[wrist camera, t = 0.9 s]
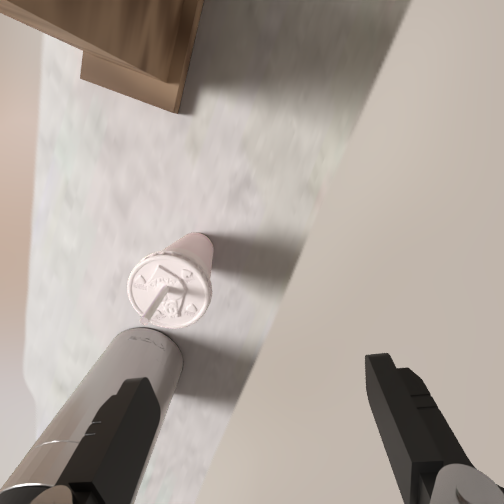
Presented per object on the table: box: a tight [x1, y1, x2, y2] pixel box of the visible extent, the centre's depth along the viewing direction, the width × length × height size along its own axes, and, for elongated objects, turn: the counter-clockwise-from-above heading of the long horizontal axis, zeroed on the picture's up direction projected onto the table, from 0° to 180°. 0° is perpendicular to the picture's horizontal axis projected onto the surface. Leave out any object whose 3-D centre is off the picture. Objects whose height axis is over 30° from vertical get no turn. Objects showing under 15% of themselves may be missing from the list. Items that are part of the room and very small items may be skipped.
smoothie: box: [127, 233, 214, 329], centre depth 25 cm, size 6×6×14 cm
